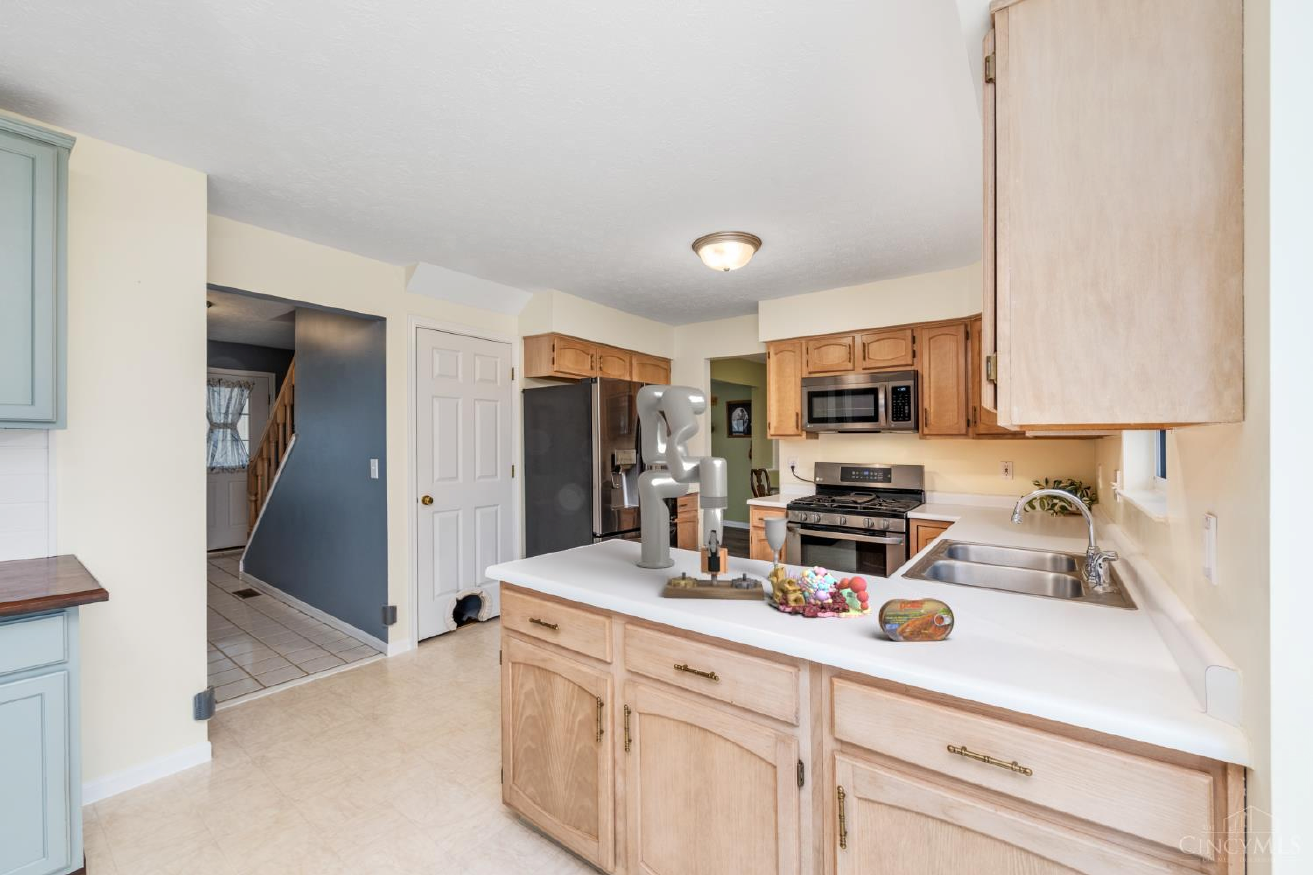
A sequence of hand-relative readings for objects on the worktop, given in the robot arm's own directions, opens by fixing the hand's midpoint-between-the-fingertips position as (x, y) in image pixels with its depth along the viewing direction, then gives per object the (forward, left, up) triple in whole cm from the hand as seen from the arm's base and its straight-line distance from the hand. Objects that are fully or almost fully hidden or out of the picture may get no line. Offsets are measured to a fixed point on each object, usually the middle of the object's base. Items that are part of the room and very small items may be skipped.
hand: (714, 567), depth 154 cm
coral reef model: (+8, +26, -7) cm, 28 cm away
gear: (0, 0, -1) cm, 1 cm away
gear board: (0, 0, -7) cm, 7 cm away
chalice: (-16, +18, -7) cm, 25 cm away
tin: (+32, +42, -7) cm, 53 cm away
